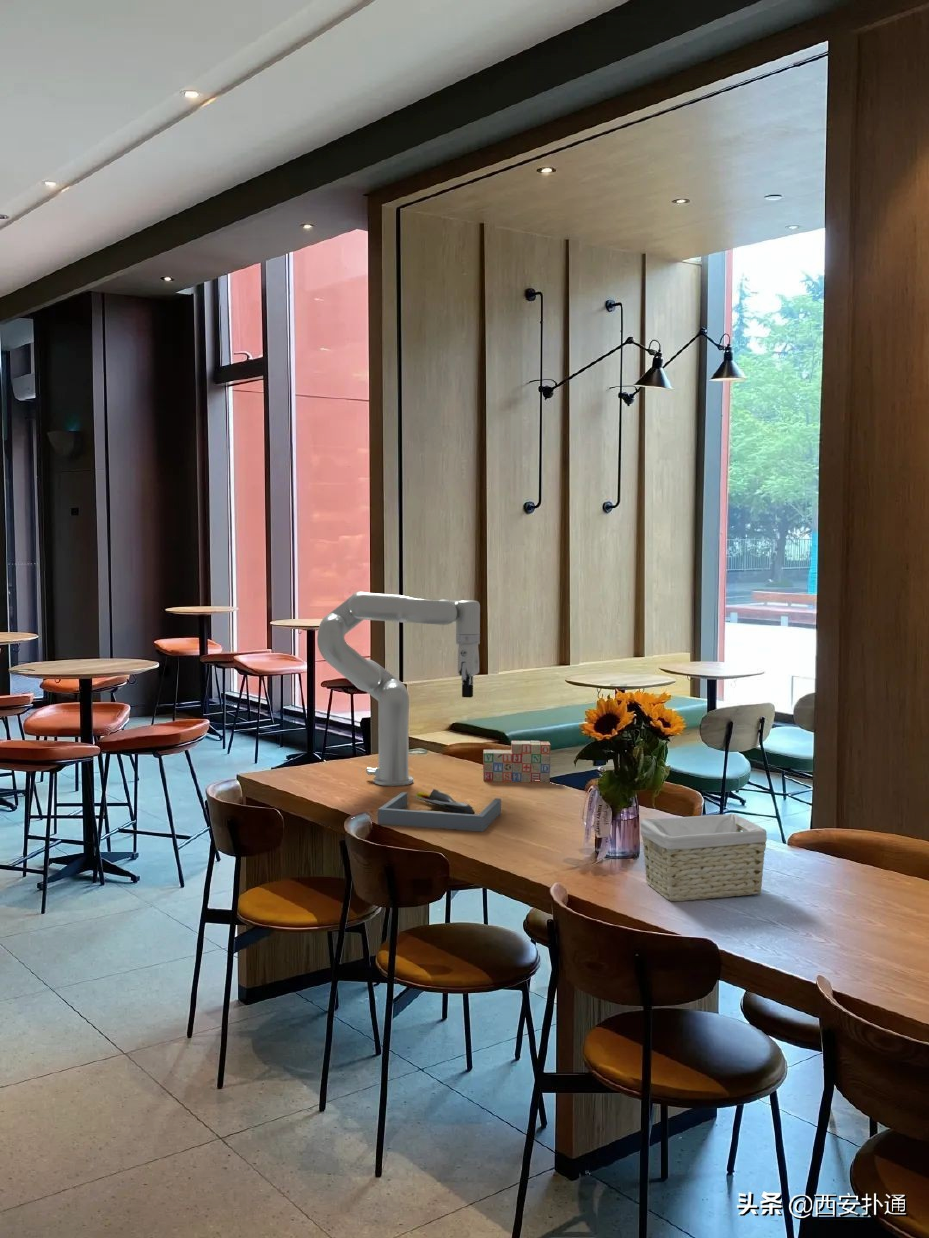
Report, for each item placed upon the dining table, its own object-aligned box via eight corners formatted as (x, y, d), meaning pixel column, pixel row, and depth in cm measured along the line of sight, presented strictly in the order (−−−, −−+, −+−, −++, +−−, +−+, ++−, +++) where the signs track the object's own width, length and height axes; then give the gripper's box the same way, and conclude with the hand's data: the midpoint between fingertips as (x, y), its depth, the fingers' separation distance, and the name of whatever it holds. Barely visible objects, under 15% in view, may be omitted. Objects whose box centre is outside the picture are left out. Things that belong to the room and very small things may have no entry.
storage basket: (664, 904, 231) (666, 835, 230) (636, 881, 247) (637, 817, 246) (769, 897, 236) (770, 830, 235) (734, 875, 252) (736, 812, 251)
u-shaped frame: (377, 823, 296) (377, 809, 296) (402, 805, 317) (402, 791, 317) (482, 831, 289) (482, 816, 288) (501, 812, 309) (501, 798, 309)
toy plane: (393, 798, 317) (397, 780, 317) (436, 803, 328) (440, 786, 329) (451, 819, 298) (455, 799, 299) (494, 823, 310) (498, 805, 310)
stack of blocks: (483, 781, 350) (483, 743, 349) (483, 777, 356) (483, 740, 356) (550, 782, 350) (550, 744, 349) (548, 778, 356) (549, 740, 355)
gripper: (473, 641, 339) (473, 700, 340) (485, 637, 353) (484, 694, 354) (450, 641, 341) (449, 699, 342) (462, 637, 355) (462, 693, 356)
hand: (467, 696), depth 348 cm, fingers closed
